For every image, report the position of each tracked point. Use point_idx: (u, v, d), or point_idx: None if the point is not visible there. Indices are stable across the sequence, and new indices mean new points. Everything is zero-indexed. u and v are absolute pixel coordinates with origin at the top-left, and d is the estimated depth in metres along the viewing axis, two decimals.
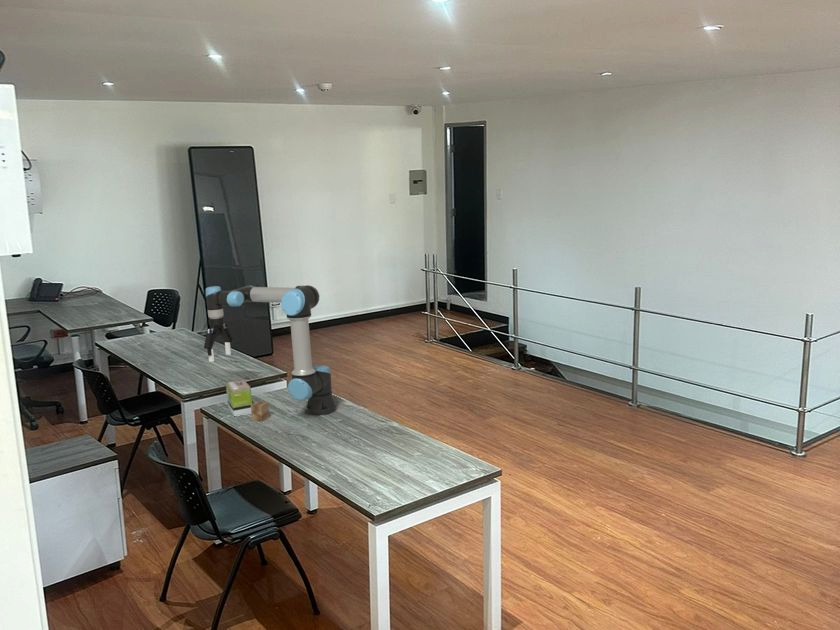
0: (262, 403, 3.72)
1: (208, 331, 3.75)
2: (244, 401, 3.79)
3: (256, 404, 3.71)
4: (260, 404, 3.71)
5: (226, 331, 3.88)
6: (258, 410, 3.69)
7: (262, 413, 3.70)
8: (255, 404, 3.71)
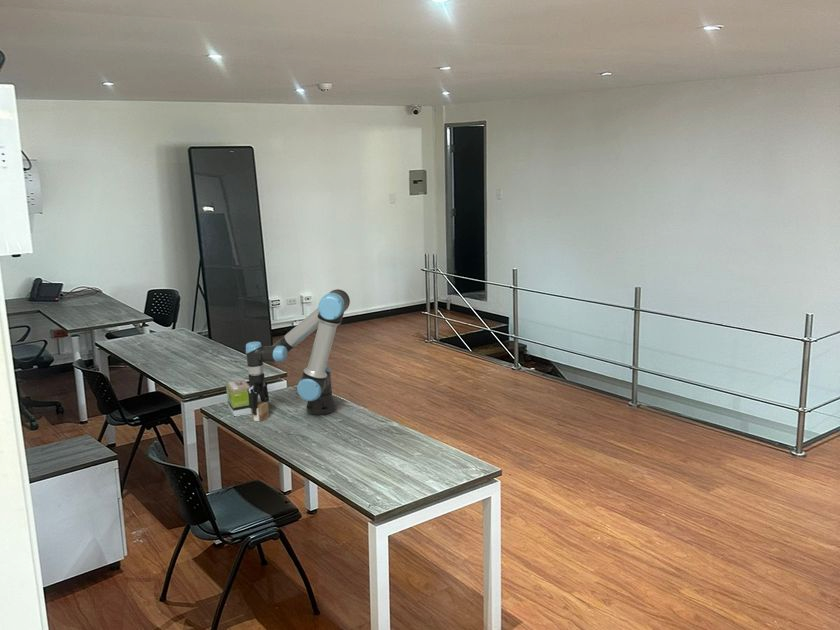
0: (262, 403, 3.72)
1: (249, 391, 3.65)
2: (244, 401, 3.79)
3: None
4: (260, 404, 3.71)
5: (264, 390, 3.75)
6: None
7: (262, 413, 3.70)
8: None
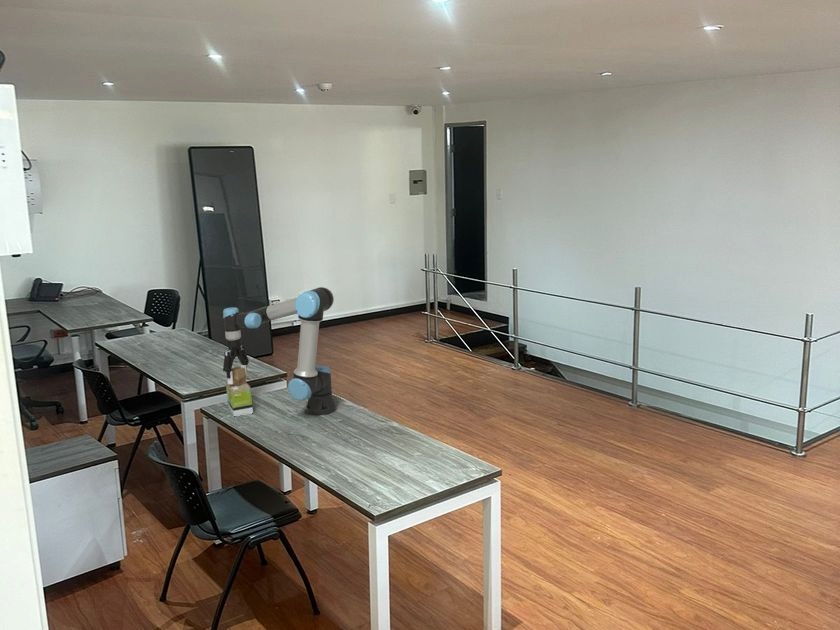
0: (239, 368, 3.82)
1: (226, 354, 3.74)
2: (244, 401, 3.79)
3: (233, 369, 3.81)
4: (237, 369, 3.81)
5: (243, 353, 3.86)
6: (235, 375, 3.79)
7: (239, 377, 3.80)
8: (232, 369, 3.81)
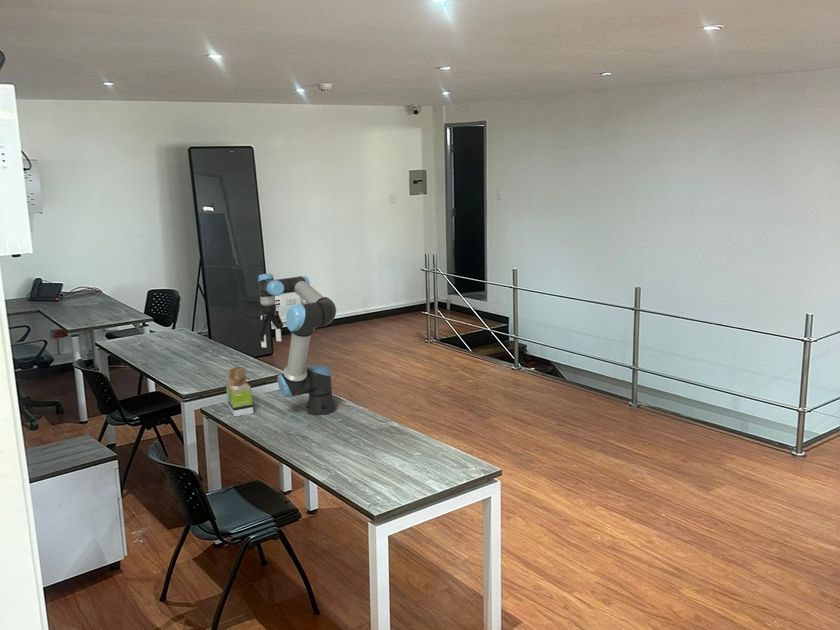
0: (239, 368, 3.82)
1: (261, 317, 3.83)
2: (245, 400, 3.79)
3: (233, 369, 3.81)
4: (237, 369, 3.81)
5: (277, 318, 3.96)
6: (235, 375, 3.79)
7: (239, 377, 3.80)
8: (232, 369, 3.81)
